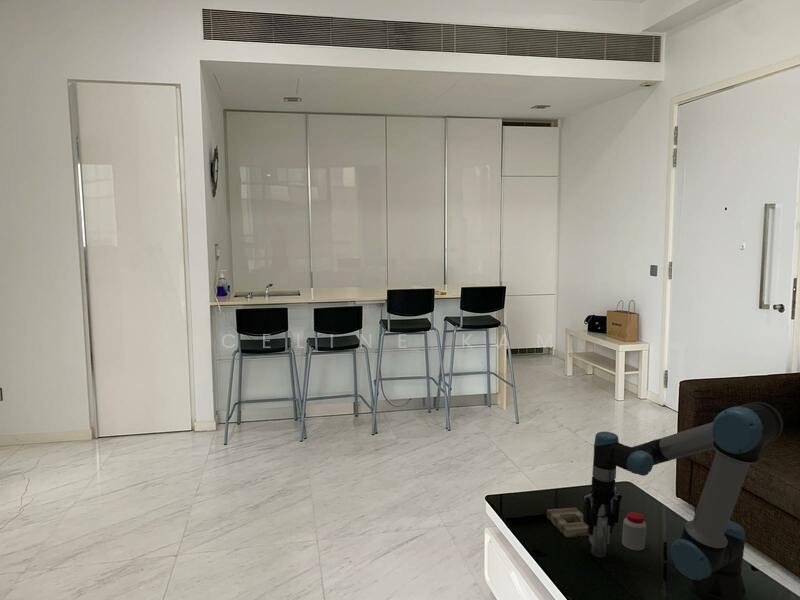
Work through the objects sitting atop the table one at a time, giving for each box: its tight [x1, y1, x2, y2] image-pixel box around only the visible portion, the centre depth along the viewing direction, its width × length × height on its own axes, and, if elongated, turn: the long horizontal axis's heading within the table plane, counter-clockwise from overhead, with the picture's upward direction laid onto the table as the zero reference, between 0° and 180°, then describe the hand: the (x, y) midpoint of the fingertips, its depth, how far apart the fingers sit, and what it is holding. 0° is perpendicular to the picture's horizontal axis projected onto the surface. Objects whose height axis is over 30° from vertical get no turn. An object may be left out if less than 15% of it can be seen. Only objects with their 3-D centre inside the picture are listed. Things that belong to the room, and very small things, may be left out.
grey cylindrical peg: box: [590, 512, 608, 558], centre depth 205 cm, size 5×5×14 cm
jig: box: [546, 507, 590, 538], centre depth 225 cm, size 16×12×3 cm
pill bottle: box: [621, 511, 648, 551], centre depth 212 cm, size 8×8×11 cm
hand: (599, 542), depth 205 cm, fingers closed on grey cylindrical peg, 5 cm apart
